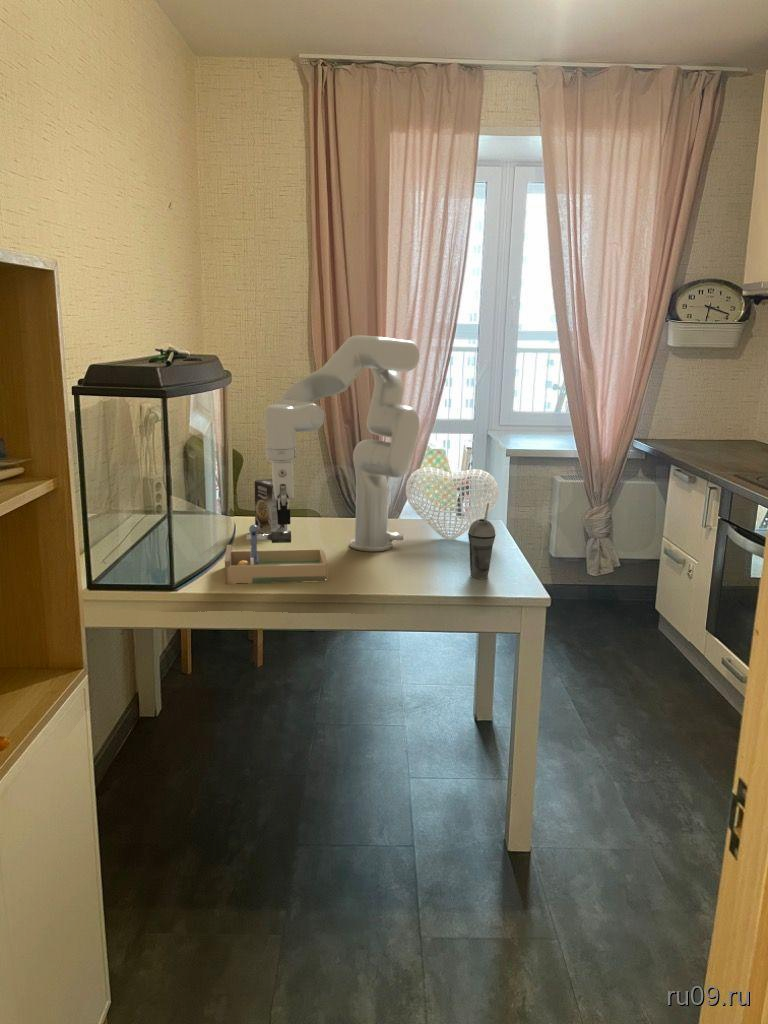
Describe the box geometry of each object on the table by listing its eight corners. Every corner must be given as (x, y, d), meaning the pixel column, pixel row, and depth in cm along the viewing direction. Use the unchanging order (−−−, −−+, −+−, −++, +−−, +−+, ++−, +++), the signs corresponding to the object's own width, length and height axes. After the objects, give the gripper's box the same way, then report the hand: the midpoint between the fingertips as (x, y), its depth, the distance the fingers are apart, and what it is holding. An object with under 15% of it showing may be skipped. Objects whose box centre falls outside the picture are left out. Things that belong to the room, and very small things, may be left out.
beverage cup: (464, 571, 213) (468, 499, 208) (491, 572, 212) (496, 500, 207) (466, 580, 206) (470, 506, 201) (494, 581, 205) (499, 507, 200)
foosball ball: (250, 570, 207) (250, 558, 206) (250, 575, 204) (249, 562, 203) (237, 571, 206) (236, 559, 206) (237, 576, 203) (236, 563, 202)
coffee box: (254, 531, 245) (253, 480, 241) (271, 527, 249) (270, 477, 245) (271, 537, 238) (270, 485, 234) (288, 534, 242) (288, 483, 238)
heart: (494, 535, 248) (498, 465, 242) (496, 549, 233) (501, 476, 227) (405, 530, 250) (408, 461, 245) (401, 544, 235) (404, 471, 230)
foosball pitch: (323, 564, 215) (323, 543, 214) (327, 581, 202) (328, 559, 200) (227, 566, 211) (226, 544, 210) (225, 584, 198) (224, 561, 196)
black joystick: (290, 562, 210) (290, 520, 207) (291, 570, 203) (291, 528, 200) (246, 563, 208) (246, 521, 205) (246, 571, 201) (245, 528, 199)
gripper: (297, 460, 191) (299, 528, 196) (294, 446, 207) (296, 509, 212) (266, 461, 190) (269, 529, 195) (265, 447, 206) (268, 510, 211)
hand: (283, 518), depth 204 cm, fingers open, 9 cm apart
